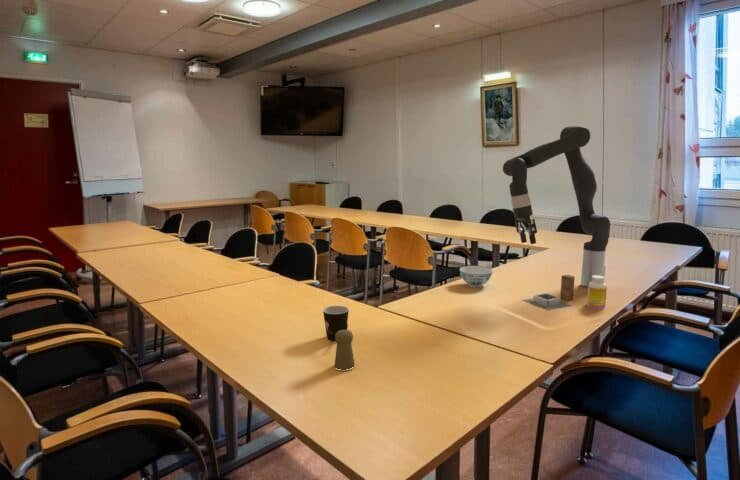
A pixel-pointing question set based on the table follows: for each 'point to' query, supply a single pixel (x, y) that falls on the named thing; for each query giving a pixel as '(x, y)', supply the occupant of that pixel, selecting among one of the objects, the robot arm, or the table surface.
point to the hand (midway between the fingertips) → (528, 243)
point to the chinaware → (475, 275)
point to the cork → (344, 350)
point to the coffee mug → (335, 320)
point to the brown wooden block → (567, 287)
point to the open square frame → (547, 300)
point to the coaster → (549, 307)
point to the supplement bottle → (597, 292)
